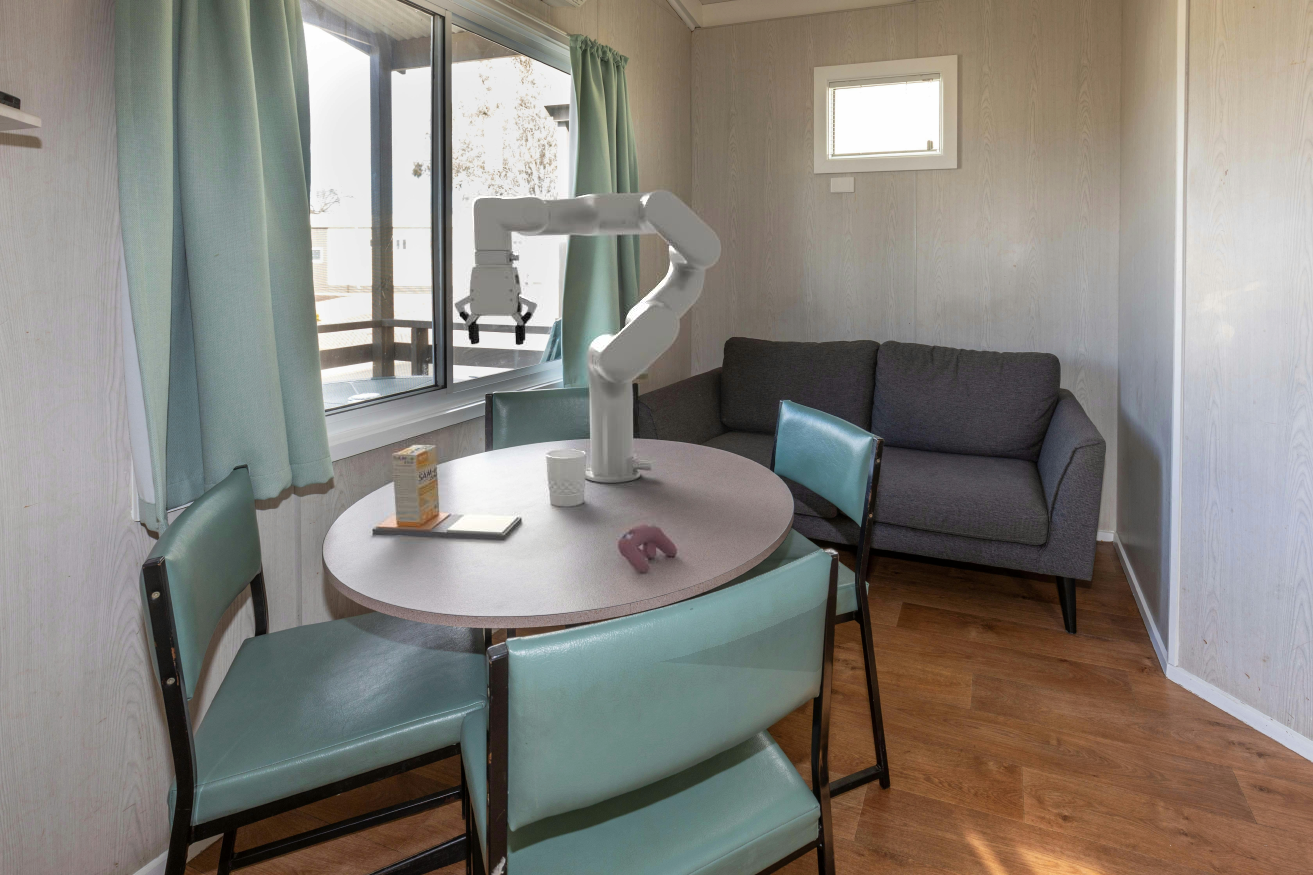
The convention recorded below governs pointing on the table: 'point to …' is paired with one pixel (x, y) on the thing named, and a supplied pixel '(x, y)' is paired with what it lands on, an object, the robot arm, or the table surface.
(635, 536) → the video game controller
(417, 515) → the supplement box
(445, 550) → the table surface
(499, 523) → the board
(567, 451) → the white cup
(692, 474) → the table surface
